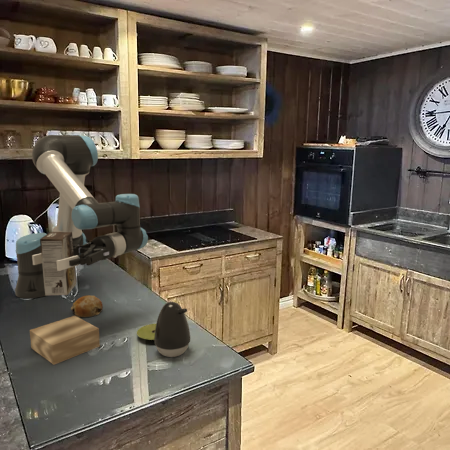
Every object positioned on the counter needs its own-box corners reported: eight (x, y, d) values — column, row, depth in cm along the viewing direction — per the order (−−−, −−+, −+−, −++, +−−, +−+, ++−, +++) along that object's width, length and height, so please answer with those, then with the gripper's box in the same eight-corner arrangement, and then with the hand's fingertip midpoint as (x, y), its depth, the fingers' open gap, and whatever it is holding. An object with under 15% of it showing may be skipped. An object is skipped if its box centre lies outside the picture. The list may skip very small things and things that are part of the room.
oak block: (31, 349, 120) (29, 330, 119) (76, 333, 130) (74, 315, 129) (53, 365, 111) (52, 345, 110) (99, 347, 121) (98, 328, 120)
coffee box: (54, 285, 121) (50, 231, 118) (77, 284, 122) (73, 231, 119) (44, 295, 112) (38, 238, 109) (68, 295, 113) (63, 237, 110)
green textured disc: (180, 333, 129) (180, 327, 129) (158, 348, 119) (158, 342, 119) (152, 326, 134) (152, 320, 134) (129, 340, 125) (128, 334, 124)
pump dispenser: (176, 365, 110) (174, 312, 107) (147, 355, 115) (145, 304, 113) (198, 349, 119) (197, 300, 116) (170, 341, 124) (168, 293, 121)
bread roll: (89, 328, 141) (96, 309, 139) (63, 314, 142) (71, 295, 140) (102, 317, 151) (110, 299, 149) (79, 304, 151) (86, 286, 149)
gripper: (134, 262, 125) (73, 283, 106) (84, 253, 137) (22, 269, 118) (133, 238, 124) (71, 255, 105) (83, 231, 135) (19, 244, 117)
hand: (45, 263), depth 112 cm, fingers closed on coffee box, 10 cm apart
